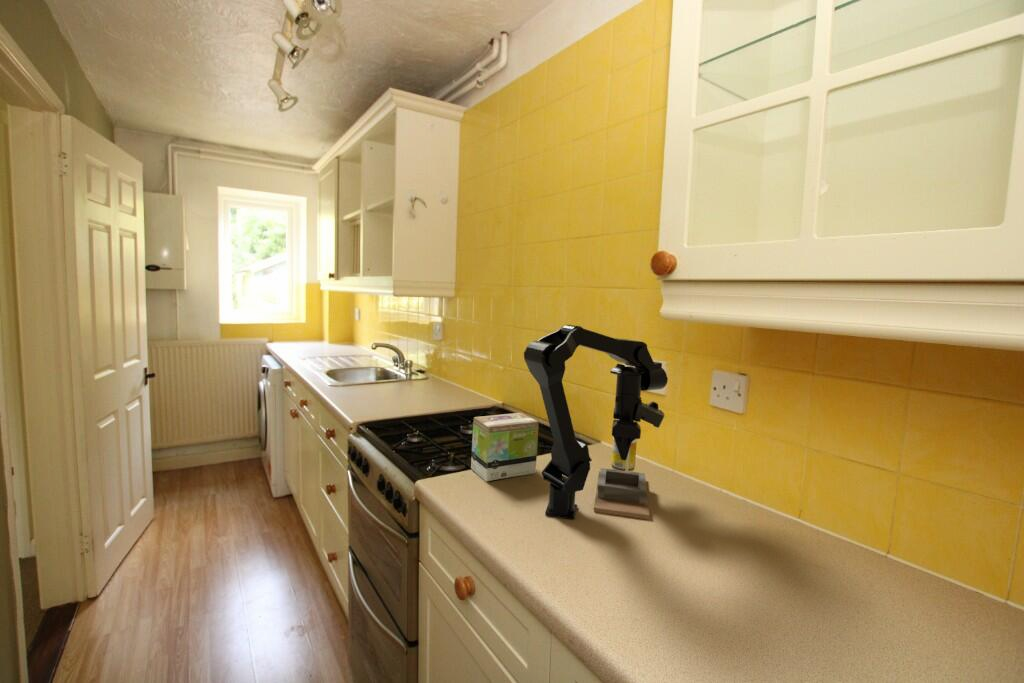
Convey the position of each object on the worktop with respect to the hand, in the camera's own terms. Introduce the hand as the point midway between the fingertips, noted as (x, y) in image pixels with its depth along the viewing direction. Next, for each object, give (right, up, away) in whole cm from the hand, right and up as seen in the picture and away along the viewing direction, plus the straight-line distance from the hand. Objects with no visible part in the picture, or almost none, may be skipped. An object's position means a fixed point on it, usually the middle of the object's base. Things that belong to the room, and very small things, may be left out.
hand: (623, 455), depth 113 cm
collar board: (0, -10, +1) cm, 10 cm away
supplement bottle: (0, -4, 0) cm, 4 cm away
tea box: (-29, -8, +13) cm, 33 cm away
